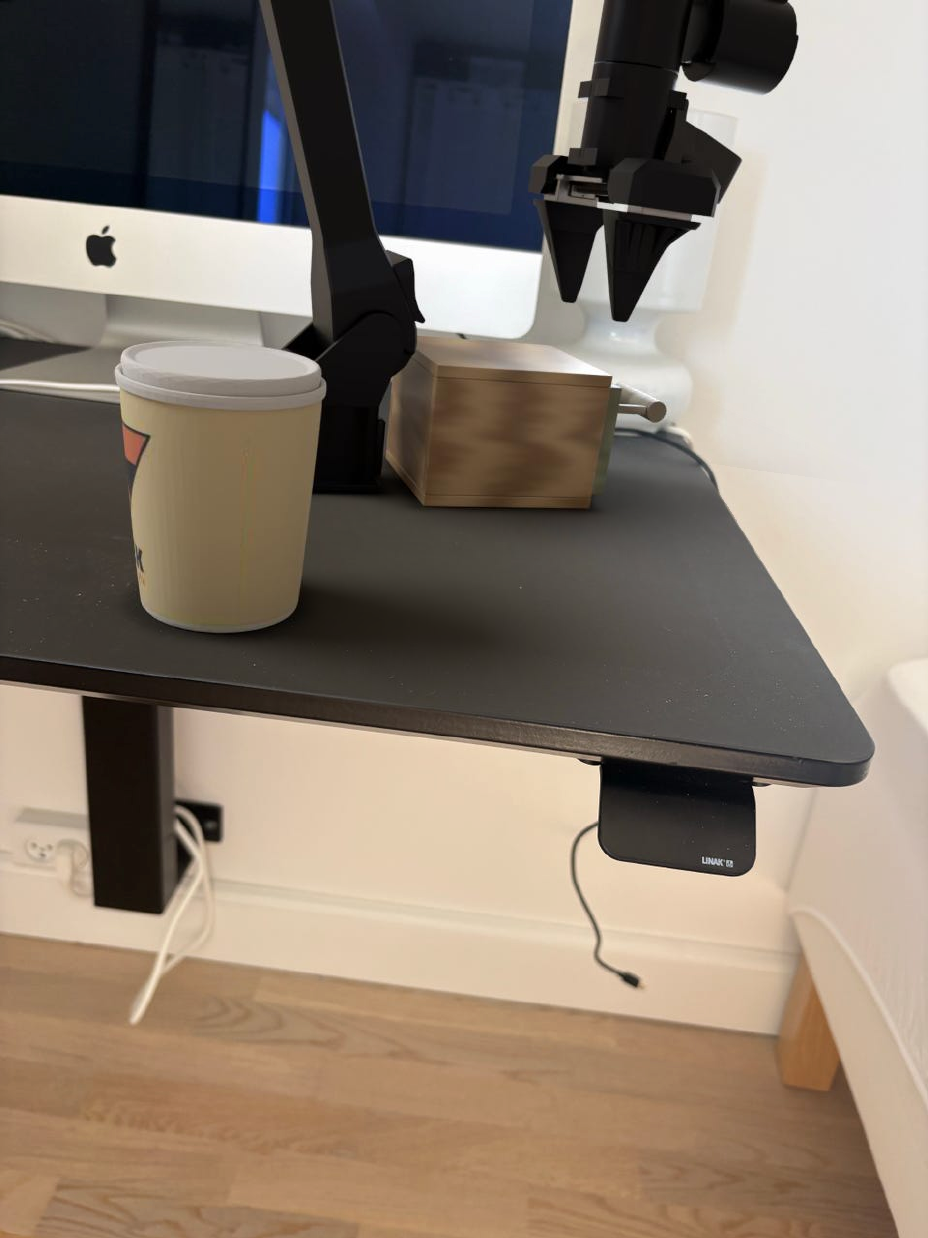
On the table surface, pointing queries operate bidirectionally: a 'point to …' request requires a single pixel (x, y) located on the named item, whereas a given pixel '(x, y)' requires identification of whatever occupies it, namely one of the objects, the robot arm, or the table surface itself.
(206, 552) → the coffee cup
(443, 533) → the table surface
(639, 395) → the drawer
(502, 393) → the cabinet
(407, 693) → the table surface
